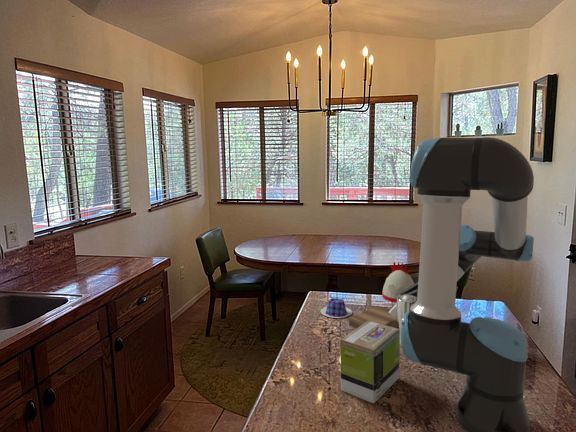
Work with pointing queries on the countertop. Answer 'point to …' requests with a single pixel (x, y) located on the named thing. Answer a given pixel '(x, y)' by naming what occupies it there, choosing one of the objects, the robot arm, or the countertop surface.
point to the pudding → (336, 309)
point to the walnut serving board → (373, 317)
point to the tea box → (370, 360)
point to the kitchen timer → (396, 283)
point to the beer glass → (403, 307)
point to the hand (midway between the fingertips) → (400, 323)
